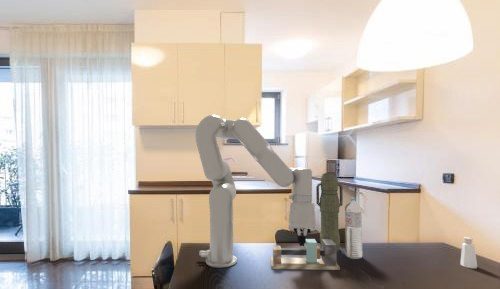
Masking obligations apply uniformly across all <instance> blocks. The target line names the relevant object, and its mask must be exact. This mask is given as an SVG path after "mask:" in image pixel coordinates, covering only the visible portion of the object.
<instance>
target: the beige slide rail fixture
mask: <svg viewBox="0 0 500 289" xmlns="http://www.w3.org/2000/svg"><path fill="white" fill-rule="evenodd" d="M305 255H306V248H305V247H304V248H300V247H299V248H298V247H297V248H296V247H295V248H294V247H293V248H292V247H291V248H290V247H281V245H272V256H271V257H270V258H269V259H270V260H269V261H270V269H272V270H313V271H314V270H315V271H316V270H318V271H319V270H323V271H324V270H325V271H328V270H329V271H331V270H332V271H340V270H341V268H340V265H339V264H338V263H337V252H336V244H335V243H334V242H333V241H332V239H322V249H320V246H319V245H318V244H317V262H306V259H305V257H286V256H305ZM282 256H285V257H282Z"/></svg>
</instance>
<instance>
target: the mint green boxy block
mask: <svg viewBox="0 0 500 289" xmlns="http://www.w3.org/2000/svg"><path fill="white" fill-rule="evenodd" d="M317 245H318V242H317V241H316V239H315V238H306V243H304V248H306V255H304V258H305V259H306V262H317Z"/></svg>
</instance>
